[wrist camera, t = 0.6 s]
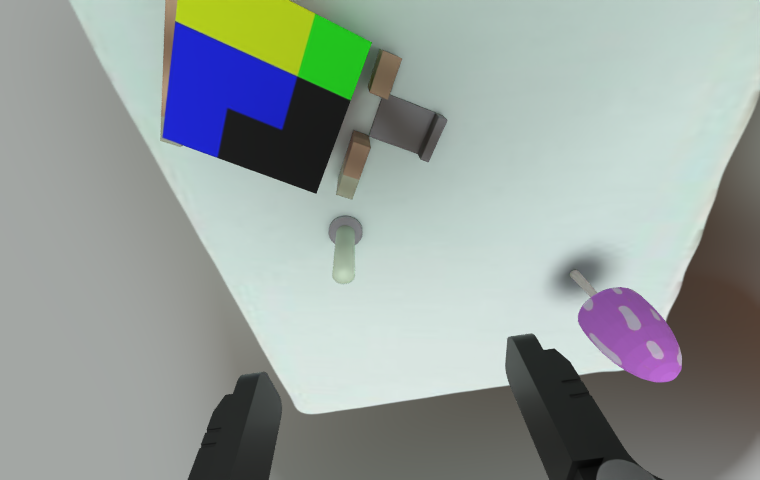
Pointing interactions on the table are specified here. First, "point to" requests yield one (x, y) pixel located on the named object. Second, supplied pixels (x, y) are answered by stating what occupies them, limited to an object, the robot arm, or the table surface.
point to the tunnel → (390, 125)
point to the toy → (629, 332)
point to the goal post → (344, 247)
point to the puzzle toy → (261, 85)
